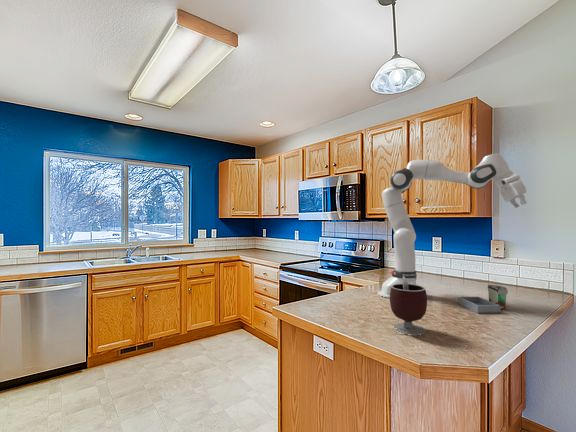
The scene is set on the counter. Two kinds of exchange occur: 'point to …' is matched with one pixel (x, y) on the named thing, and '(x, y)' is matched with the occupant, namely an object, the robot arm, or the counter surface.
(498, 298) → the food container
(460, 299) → the tray
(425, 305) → the mate gourd
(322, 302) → the counter surface
